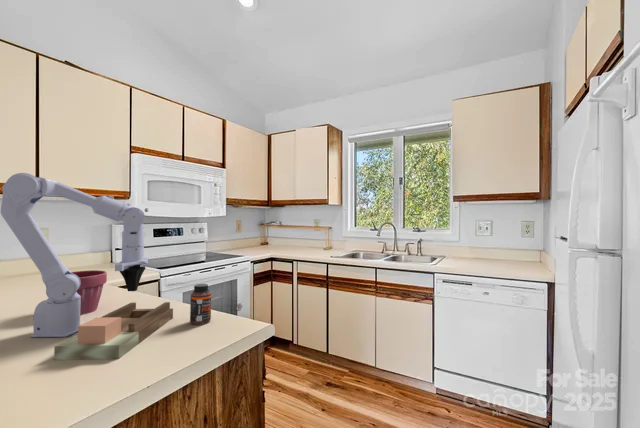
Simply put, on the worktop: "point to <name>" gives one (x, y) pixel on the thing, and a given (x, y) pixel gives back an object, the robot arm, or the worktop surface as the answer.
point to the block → (99, 330)
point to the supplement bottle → (200, 304)
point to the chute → (132, 333)
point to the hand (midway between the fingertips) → (132, 290)
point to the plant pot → (90, 289)
